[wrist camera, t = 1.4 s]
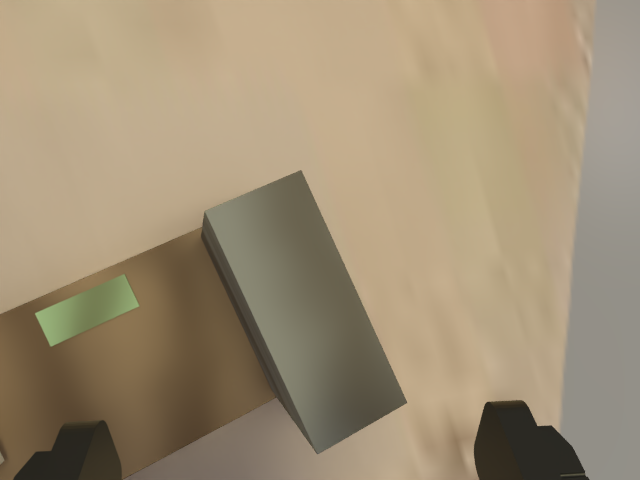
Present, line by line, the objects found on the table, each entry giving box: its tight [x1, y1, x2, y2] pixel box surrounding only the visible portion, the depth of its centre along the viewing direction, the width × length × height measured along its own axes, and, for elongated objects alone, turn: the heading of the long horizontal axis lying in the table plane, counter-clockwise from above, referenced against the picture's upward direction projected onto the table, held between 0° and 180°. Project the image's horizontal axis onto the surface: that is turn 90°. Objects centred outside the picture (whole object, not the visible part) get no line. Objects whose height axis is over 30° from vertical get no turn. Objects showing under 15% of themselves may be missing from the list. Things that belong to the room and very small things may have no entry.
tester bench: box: [0, 170, 407, 480], centre depth 24 cm, size 32×11×14 cm, turn 115°
